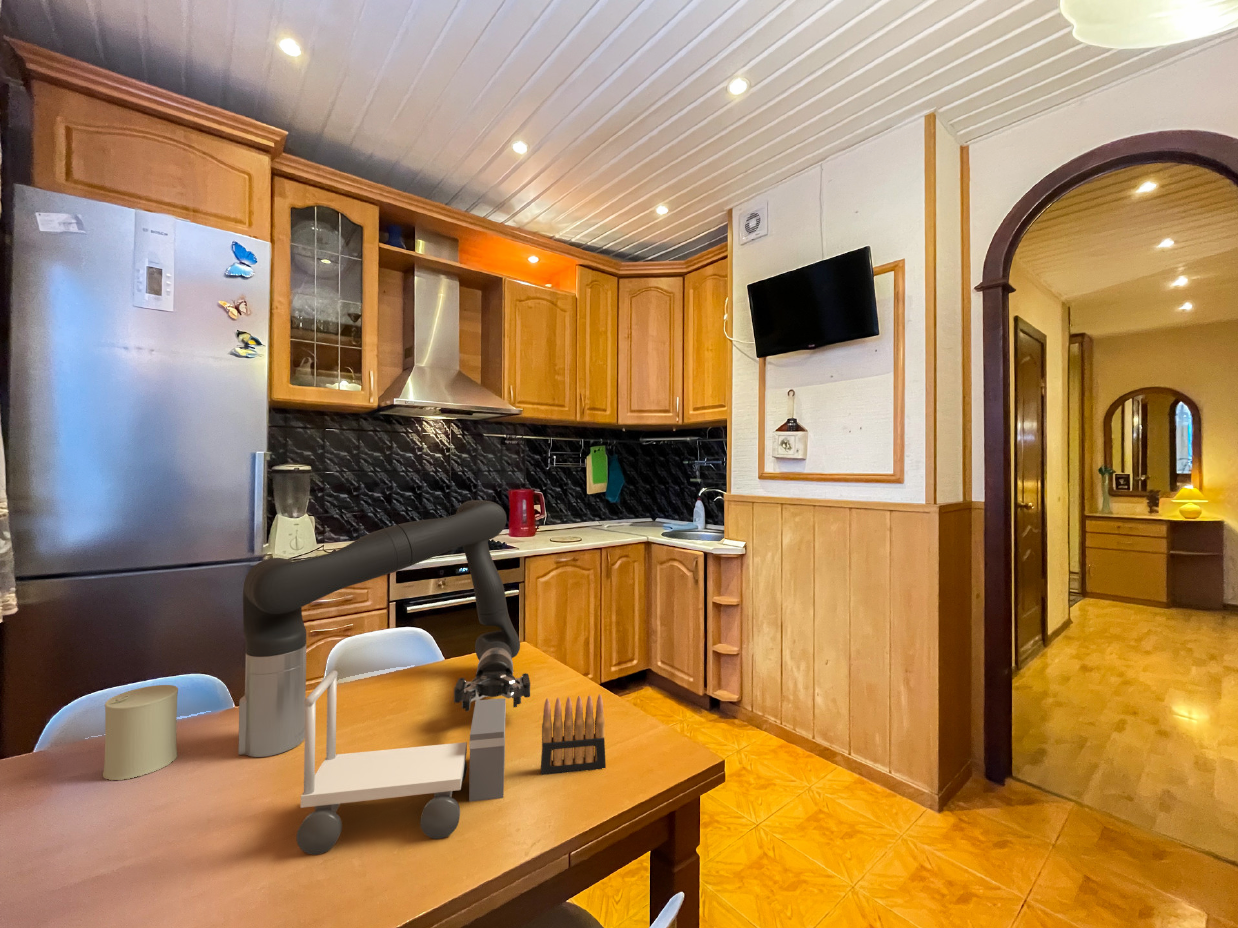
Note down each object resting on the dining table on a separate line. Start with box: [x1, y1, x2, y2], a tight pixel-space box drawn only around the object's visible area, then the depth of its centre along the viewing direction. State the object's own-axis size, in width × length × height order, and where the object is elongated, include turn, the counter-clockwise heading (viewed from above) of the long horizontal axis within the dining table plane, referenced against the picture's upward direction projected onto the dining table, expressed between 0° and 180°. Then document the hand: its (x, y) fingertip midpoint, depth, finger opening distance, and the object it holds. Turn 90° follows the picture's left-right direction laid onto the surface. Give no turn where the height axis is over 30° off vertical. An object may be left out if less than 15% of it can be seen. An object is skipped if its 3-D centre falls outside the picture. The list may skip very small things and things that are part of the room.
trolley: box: [296, 670, 468, 856], centre depth 75 cm, size 20×12×20 cm, turn 101°
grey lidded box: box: [468, 697, 507, 803], centre depth 84 cm, size 5×12×10 cm, turn 11°
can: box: [102, 684, 179, 781], centre depth 88 cm, size 9×9×12 cm
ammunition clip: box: [540, 694, 607, 776], centre depth 87 cm, size 11×2×12 cm, turn 101°
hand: (491, 703), depth 95 cm, fingers open, 8 cm apart
